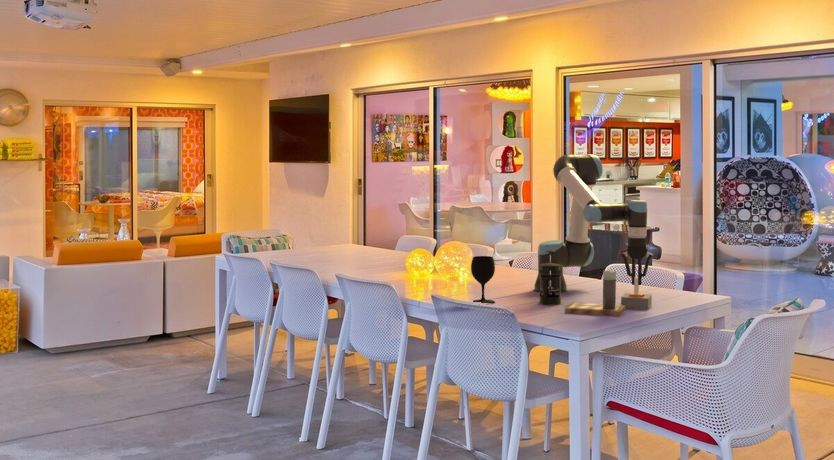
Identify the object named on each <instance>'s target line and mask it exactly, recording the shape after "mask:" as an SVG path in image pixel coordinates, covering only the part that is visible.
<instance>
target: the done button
mask: <svg viewBox="0 0 834 460" xmlns="http://www.w3.org/2000/svg"><path fill="white" fill-rule="evenodd" d="M630 293H631V294H630V297H643V294H645V293H644V292H639V293H634V292H630Z"/></svg>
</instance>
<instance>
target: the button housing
mask: <svg viewBox="0 0 834 460" xmlns="http://www.w3.org/2000/svg"><path fill="white" fill-rule="evenodd" d="M631 293H632V292H626V293H624V294H623V295H622V296H621V297H620V298H621V299H620V305H624V306H625V309H633V310H634V309H635V310H638V309H639V310H649V309H650V308H651V306H652V300H653V299H652V295H653V294H652V293H644V294H643V297H630V294H631Z"/></svg>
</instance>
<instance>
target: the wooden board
mask: <svg viewBox="0 0 834 460" xmlns="http://www.w3.org/2000/svg"><path fill="white" fill-rule="evenodd" d="M625 311H626V308H625V306H624V305H621V304H615V309H614V310H606V309H603V303H589V302H588V303H586V302H585V303H584V302H571V303H569V305H567V306H566V307H565V308H564V314H573V315H574V314H575V315H589V316H590V315H591V316H593V315H594V316H603V317H604V316H605V317H609V316H610V317H621V316H622V315H624V313H625Z"/></svg>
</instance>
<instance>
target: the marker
mask: <svg viewBox="0 0 834 460" xmlns="http://www.w3.org/2000/svg"><path fill="white" fill-rule="evenodd" d="M602 276H603V277H602V304H603V309H606V310H614V309H615V305H616V294H617V292H616V291H617V286H616V285H617V271H616V270H615V271H614V270H603V272H602Z"/></svg>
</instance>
